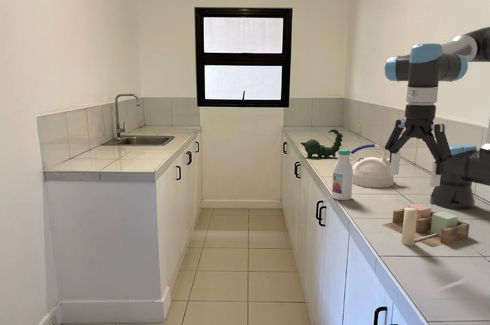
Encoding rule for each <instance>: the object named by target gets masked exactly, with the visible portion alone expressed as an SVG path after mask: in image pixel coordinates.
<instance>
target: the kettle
mask: <svg viewBox="0 0 490 325" xmlns="http://www.w3.org/2000/svg"><path fill="white" fill-rule="evenodd" d="M368 148H377V149H379V150H380V152H381V158H378V157H374V156H371V157H370V156H369V157H368V156H367V157H365V158H364V157H360V158H358V160H357V162H356V163H355V164H354V165H352V169H353V179H352V185H356V186H360V187H365V188H377V189H378V188H388V187H391V186H393V185H394V175H390V169H391V163H390V157H389V158H387V153H386V149H385V148H384V147H382V146H381V145H379V144H365V145H364V144H363V145H361V146H358V147H356V148H354V149H352V150H350V154H352V155H354V154H355V153H357V152H358V151H360V150H364V149H368Z"/></svg>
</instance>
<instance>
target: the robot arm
mask: <svg viewBox="0 0 490 325" xmlns="http://www.w3.org/2000/svg"><path fill="white" fill-rule="evenodd" d="M469 63H490V26H487V27H483V28H479V29H475V30H473V31H470V32H467V33H465V34H461V35H458V36H456V37H455V38H454V39H452V40H451V41H449V42H446V43H442V44H440V43H419V44H414V45H412V47H411V50H410V53H409V54H407V55H397V56H392V57H389V58H388V59H387V60H386V62H385V65H384V75H385V78H386V79H387V80H389V81H390V82H392V81H393V82H398V83H399V82H407V90H406V103H407V104H406V105H405V110H404V117H405V119H396V120H395V124H394V128H393V130H392V131H391V133H390V136H389V138H388V140H387V142H386V144H385V145H384V150H385V151H386V150H387V151H388V152H389V158H390V163H391V166H390V168H391V169H390V175H393V176H398V175H399V174H400V161H401V152H400V150H401V149H402V148H403V146H404V145H406V143H407V142H408V141H409V140H410V139H414V138H416V139H417V140H422V141H423V142H424V143H425V144H426V147H427V149H428V150H429V152H430V154H431V155H432V157H433V158H434V160H435V161H433V162H432V166H431V176H430V184H429V185H430V186H429V187H432V188H433V187H434V188H433V190H432V192H431V194H430V197H429V202H430V204H431V205H433V206H434V205H435V206H438V207H440V208H445V209H450V210H460V211H462V210H471V209H474V208H475V204H476V200H475V197H474V196H475V195H474V192H473V189H472V185H473V183H474V184H479V185H483V186H488V187H490V117H489V119H488V124H487V125H488V127H487V132H486V139H485V142H484V143H483V144H481V145H480V146H479V149H478V147H477V146H476V145H475V144H452V145H451V144H449V142H448V139H447V136H446V132H445V130H446V129H445V128H446V127H445V126H446V125H445V124H444V123H437V124H434V120H435V117H436V111H437V106H436V103H437V102H438V94H439V82H446V83H447V82H450V83H451V82H456V81H459V80H460V79H462V78H463V77H464V76H466V74H467V71H468V69H469V68H468V67H469ZM404 129H405V130H404ZM403 130H404V131H403ZM433 133H434V134H433Z"/></svg>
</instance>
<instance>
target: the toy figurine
mask: <svg viewBox="0 0 490 325" xmlns="http://www.w3.org/2000/svg"><path fill="white" fill-rule="evenodd" d="M328 133H329V134H330V133H333V134H335V135H336V137H335V138H334V139H335V140H334V142H333V144H332V145H331V147H328V146H324V145H322V144H320V142H319V141H318V140H316V139H309V140H307V141H306V142H300V145H301V146H303V147H304V151H305V152H306V153H307V154H306V155H307V157H308V158H312V157H313V156H314V155H315V156H317V157H318V158H322V157H325V159H329V157H331V156H332V157H336V156H337V155H336V153H338V150H340V149H341V148H340V147H342V142H343V139H342V138H343V137H344V136H343V134H342V132H341V133H340V132H339V131H338V130H337V129H335V128H333V129H332V128H331V129H330V130H329V131H328Z"/></svg>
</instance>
